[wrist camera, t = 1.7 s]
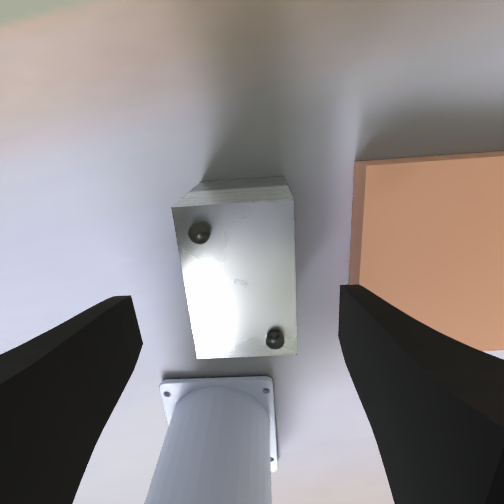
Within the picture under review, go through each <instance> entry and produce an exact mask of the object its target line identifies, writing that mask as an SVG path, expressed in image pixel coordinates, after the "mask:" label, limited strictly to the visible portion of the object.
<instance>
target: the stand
mask: <svg viewBox="0 0 504 504" xmlns="http://www.w3.org/2000/svg"><path fill="white" fill-rule="evenodd" d="M354 284H359V285H361V286H363V287H365V288H366V289H368V290H369V291H371V292H373V293H374V294H376V295H377V296H379V297H380V298H382V299H383V300H385V301H387V302H388V303H390V304H391V305H393V306H394V307H396V308H398V309H399V310H401V311H403V312H404V313H406V314H408V315H409V316H411V317H413V318H414V319H416V320H418V321H420V322H422V323H423V324H425V325H427V326H429V327H431V328H433V329H434V330H436V331H438V332H440V333H442V334H444V335H446V336H449V337H451V338H453V339H455V340H457V341H459V342H462V343H464V344H466V345H468V346H470V347H473V348H475V349H477V350H480V351H494V350H504V151H494V152H480V153H466V154H452V155H438V156H424V157H410V158H396V159H382V160H367V161H355V163H354V184H353V205H352V226H351V247H350V267H349V285H354Z"/></svg>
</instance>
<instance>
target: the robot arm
mask: <svg viewBox="0 0 504 504" xmlns="http://www.w3.org/2000/svg"><path fill="white" fill-rule="evenodd" d="M338 336H339V340H340V344H341V348H342V352H343V356H344V360H345V363H346V366H347V368H348V371H349V373H350V376H351V378H352V381H353V383H354V386H355V388H356V390H357V393H358V395H359V398H360V400H361V403H362V405H363V408H364V410H365V412H366V415H367V417H368V420H369V422H370V425H371V427H372V430H373V433H374V436H375V438H376V441H377V445H378V448H379V451H380V455H381V458H382V461H383V465H384V468H385V471H386V475H387V478H388V482H389V485H390V489H391V492H392V496H393V499H394V503H395V504H504V360H503V359H500V358H498V357H495V356H492V355H490V354H487V353H485V352H482V351H480V350H477V349H475V348H473V347H470V346H468V345H466V344H464V343H462V342H459V341H457V340H455V339H453V338H451V337H449V336H446V335H444V334H442V333H440V332H438V331H436V330H434V329H433V328H431V327H429V326H427V325H425V324H423V323H422V322H420V321H418V320H416V319H414V318H413V317H411V316H409V315H408V314H406V313H404V312H403V311H401V310H399V309H398V308H396V307H394V306H393V305H391V304H390V303H388V302H387V301H385V300H383V299H382V298H380V297H379V296H377V295H376V294H374V293H373V292H371V291H369V290H368V289H366V288H365V287H363V286H361V285H359V284H354V285H340V305H339V332H338ZM142 345H143V342H142V338H141V334H140V330H139V326H138V322H137V318H136V314H135V310H134V306H133V302H132V298H131V296H114V297H111V298H109V299H106V300H104V301H102V302H100V303H98V304H96V305H95V306H93V307H91V308H89V309H87V310H85V311H84V312H82V313H80V314H78V315H76V316H75V317H73V318H71V319H69V320H67V321H66V322H64V323H62V324H60V325H58V326H57V327H55V328H53V329H51V330H49V331H47V332H45V333H43V334H41V335H39V336H37V337H35V338H34V339H32V340H30V341H28V342H26V343H24V344H22V345H20V346H18V347H16V348H14V349H11V350H9V351H7V352H5V353H3V354H1V355H0V504H72V503H73V500H74V498H75V495H76V492H77V490H78V487H79V484H80V482H81V479H82V477H83V474H84V472H85V469H86V467H87V464H88V462H89V459H90V457H91V455H92V452H93V450H94V447H95V445H96V443H97V441H98V439H99V437H100V434H101V432H102V430H103V428H104V427H105V425H106V423H107V421H108V419H109V417H110V415H111V413H112V411H113V409H114V407H115V405H116V404H117V402H118V400H119V398H120V396H121V394H122V392H123V390H124V388H125V386H126V384H127V382H128V380H129V378H130V377H131V374H132V372H133V370H134V368H135V365H136V363H137V360H138V357H139V354H140V351H141V348H142ZM264 388H268V389H264ZM159 390H160V394H161V398H162V402H163V406H164V411H165V415H166V419H167V423H168V430H167V433H166V436H165V440H164V443H163V446H162V449H161V452H160V455H159V459H158V462H157V465H156V468H155V471H154V475H153V478H152V481H151V484H150V487H149V490H148V494H147V497H146V500H145V503H144V504H272V496H271V472H274V471H276V470H277V469H278V459H277V443H276V427H275V411H274V394H273V381H272V379H271V378H270V377H268V376H255V377H226V378H196V379H167V380H163V381H162V382H161V383H160V386H159ZM166 391H168V392H166ZM169 392H170V393H169Z"/></svg>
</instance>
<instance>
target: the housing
mask: <svg viewBox="0 0 504 504" xmlns="http://www.w3.org/2000/svg"><path fill="white" fill-rule="evenodd" d="M171 208H172V213H173V219H174V225H175V231H176V237H177V243H178V248H179V254H180V260H181V266H182V272H183V278H184V283H185V289H186V295H187V301H188V307H189V313H190V318H191V324H192V330H193V336H194V342H195V348H196V353H197V359H204V358H231V357H258V356H285V355H297V323H296V278H295V234H294V199H293V197H292V194H291V192H290V190H289V188H288V185H287V183H286V181H285V179H284V176H275V177H261V178H246V179H232V180H217V181H203V182H200V183H199V184H198V185H197V186H195V187H194V188H193V189H192V190H191V191H190V192H188V193H187V194H186V195H185V196H184V197H183V198H182V199H180V200H179V201H178V202H177V203H176V204H175V205H174V206H172V207H171Z"/></svg>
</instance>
